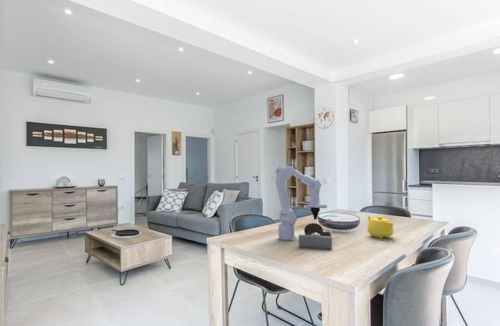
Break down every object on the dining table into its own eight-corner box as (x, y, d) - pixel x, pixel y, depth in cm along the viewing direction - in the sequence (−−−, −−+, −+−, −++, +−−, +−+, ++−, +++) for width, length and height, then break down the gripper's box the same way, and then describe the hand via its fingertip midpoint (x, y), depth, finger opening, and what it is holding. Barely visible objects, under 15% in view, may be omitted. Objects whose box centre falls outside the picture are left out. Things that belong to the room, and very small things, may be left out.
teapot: (375, 232, 180) (375, 213, 180) (401, 239, 161) (401, 218, 161) (359, 234, 175) (358, 214, 176) (383, 241, 157) (383, 220, 157)
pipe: (330, 232, 150) (329, 222, 164) (303, 233, 153) (303, 223, 167) (332, 249, 151) (330, 237, 165) (304, 249, 154) (305, 238, 169)
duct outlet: (298, 247, 148) (298, 234, 148) (300, 244, 153) (299, 232, 153) (331, 249, 143) (331, 235, 143) (331, 246, 148) (331, 233, 148)
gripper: (304, 199, 174) (305, 220, 174) (327, 198, 174) (328, 220, 174) (302, 198, 181) (303, 218, 181) (324, 197, 181) (325, 218, 181)
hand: (315, 219), depth 178 cm, fingers closed
